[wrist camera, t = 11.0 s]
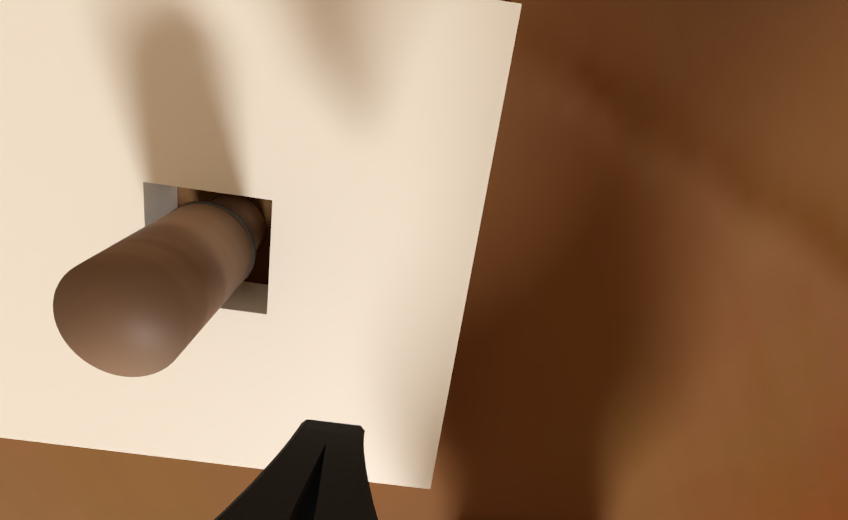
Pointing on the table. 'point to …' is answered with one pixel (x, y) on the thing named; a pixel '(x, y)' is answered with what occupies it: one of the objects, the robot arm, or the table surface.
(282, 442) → the cream board
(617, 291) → the table surface
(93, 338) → the walnut peg
